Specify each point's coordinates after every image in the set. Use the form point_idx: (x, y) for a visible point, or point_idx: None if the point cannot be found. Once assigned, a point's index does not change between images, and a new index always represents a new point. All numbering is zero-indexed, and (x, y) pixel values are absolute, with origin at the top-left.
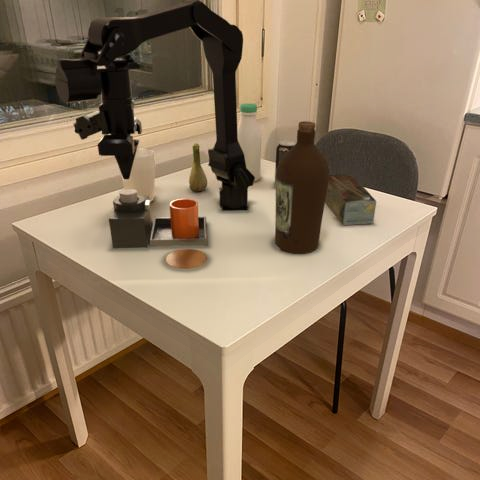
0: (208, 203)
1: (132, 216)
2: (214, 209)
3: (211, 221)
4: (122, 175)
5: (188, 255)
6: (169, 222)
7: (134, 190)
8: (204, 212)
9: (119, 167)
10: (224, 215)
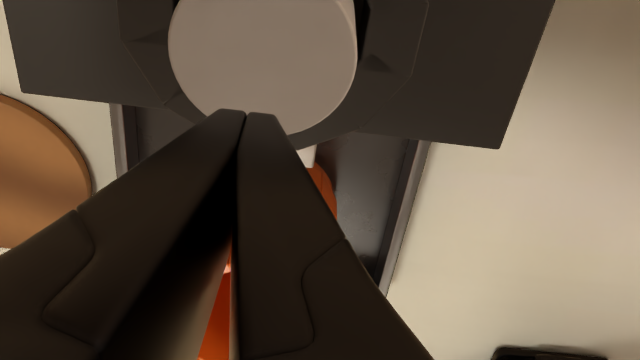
0: (630, 315)
1: (50, 13)
2: (543, 325)
3: (409, 299)
4: (196, 126)
5: (21, 188)
6: (408, 149)
7: (291, 119)
8: (525, 290)
9: (111, 186)
10: (459, 345)
